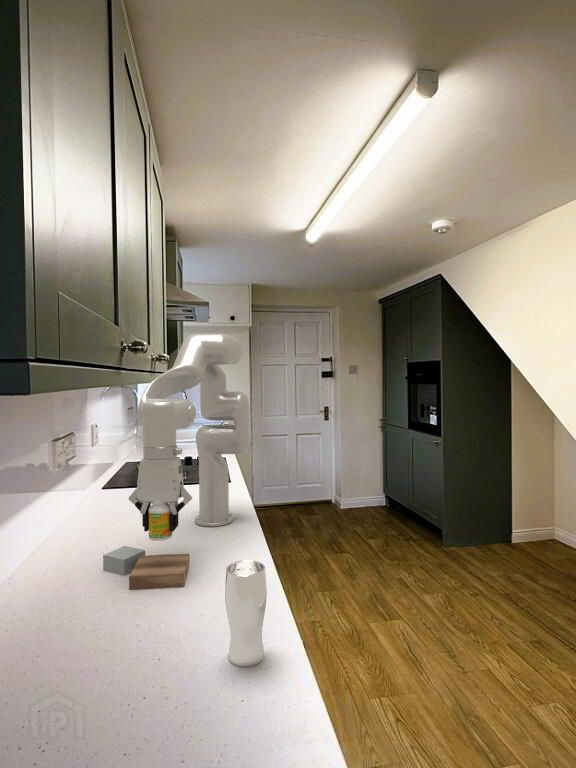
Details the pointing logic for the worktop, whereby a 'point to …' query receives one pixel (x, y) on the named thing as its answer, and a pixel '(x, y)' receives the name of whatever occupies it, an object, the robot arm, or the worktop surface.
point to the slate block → (122, 560)
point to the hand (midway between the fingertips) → (160, 529)
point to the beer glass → (245, 611)
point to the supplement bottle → (159, 521)
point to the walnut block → (159, 571)
